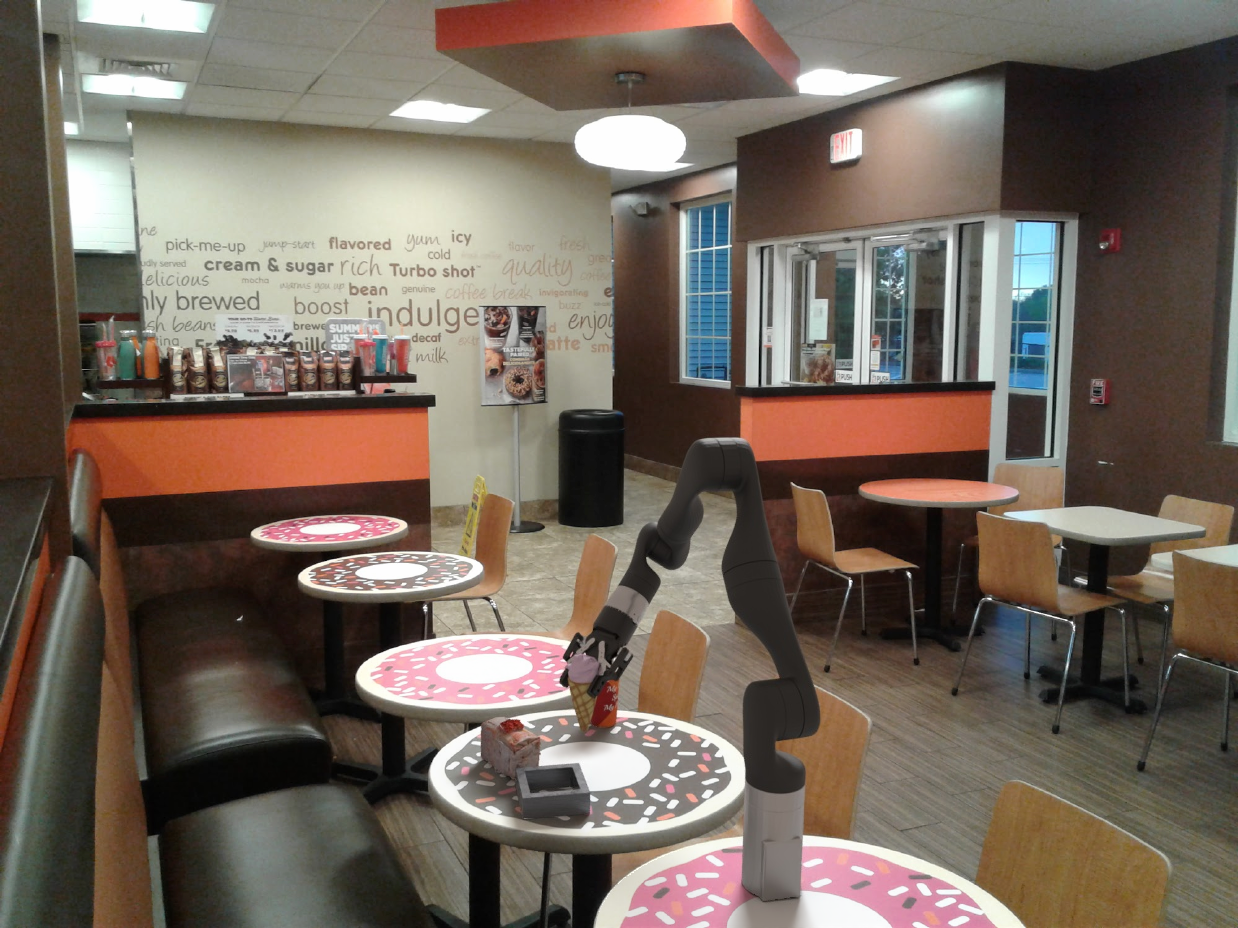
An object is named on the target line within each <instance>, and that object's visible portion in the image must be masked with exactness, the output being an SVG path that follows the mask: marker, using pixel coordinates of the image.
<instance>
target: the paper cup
mask: <svg viewBox="0 0 1238 928" xmlns="http://www.w3.org/2000/svg"><path fill="white" fill-rule="evenodd" d="M615 659H616V657H615V658H614V661H615ZM617 669H618V668H617ZM617 669H616V671H617ZM616 671H615V673H616ZM620 678H621V677H620ZM620 678H619V680H618V681H614V680H610V681H608V682H606V684H605V685H604V687H603V689H602V691H601V692H600V694H599V695H598V696H597V699H596V703H595V707H594V711H593V714H592V718H591V722H590V725H592V726H593V725H594V726H593V727H595V726H597V727H596V728H600V727H607V728H612V727H613V725H614V726H616V723H617V718H618V706H619V693H620V692H619V690H620Z"/></svg>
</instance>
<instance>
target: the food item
mask: <svg viewBox="0 0 1238 928" xmlns="http://www.w3.org/2000/svg"><path fill="white" fill-rule="evenodd" d="M524 727H525V724H523V723H522V722H521V719H518V718H514V719H513V718H512V719H511V718H509V717H506V716H497V717H493V718H491V719H488V720H486V721H483V722H482V723H481V724H480V758H481V760H484V761H486V762H488V763H489V764H491V765H492V766H493V769H494V772H495V773H498V774H502V775H504V776H509V777H510V778H511V780H516V768H521V767H533V766H540V756H541V744H542V741H541V736H538V735H536V734H535V733H533V732H532V731H529V730H528V729H526V728H524Z"/></svg>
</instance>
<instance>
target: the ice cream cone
mask: <svg viewBox="0 0 1238 928" xmlns="http://www.w3.org/2000/svg"><path fill="white" fill-rule="evenodd" d="M571 661H572V663H571V664H567V663H566V664H565V666H563V669H564V670H565V669H566V668H568V669H569V671H568V675H569V677H568V683H569V687H568V688H569V693H570V697H571V700H572V705H573V709H574V712H575V715H576V719H577V722H578V726H579V728H580V731H581V732H587V731H589V728H590V725H591V718H592V714H593V711H594V707H595V703H596V699H597V696H596V698H591V697H590V696H589V695H588V694H587V690H588V688H589V686H590V685H591V683H592V681H593V680H594V678H595V676H596V675H598V676H599V674H598V673H599V662H598V661H597V660H596V659H595V658H594V657H591V656H588V655H586V654H579V655H574V659H572V660H571Z"/></svg>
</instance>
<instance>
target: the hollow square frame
mask: <svg viewBox="0 0 1238 928" xmlns="http://www.w3.org/2000/svg"><path fill="white" fill-rule="evenodd" d="M565 788H572V789H568V790H556V791H554V789H565ZM552 789H553V791H544V792H534V793H533V792H531V791H541V790H552ZM515 790H516V795H517V800H518V804H519V809H520V813H522V814H521V817H523V818H535V819H543V818H544V819H545V818H553V817H554V816H557V817H566V816H577V815H587V814H589V815H590V814H591V791H590V789H589V786H588V783H587V780H586V778H585V775H584V773H583V770H582V767H581V763H580V762H573V763H561V764H560V763H559V764H548V765H539V766H533V767H521V768H516V779H515ZM523 818H522V819H523Z"/></svg>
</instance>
